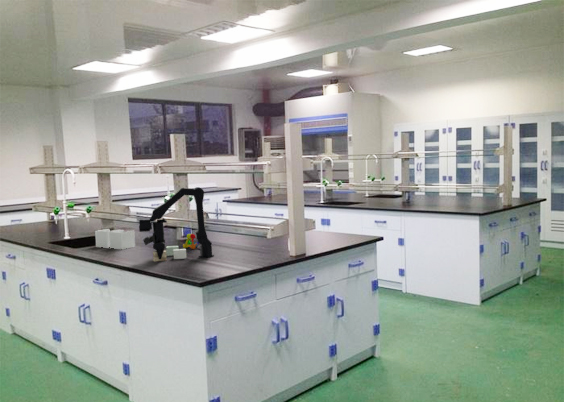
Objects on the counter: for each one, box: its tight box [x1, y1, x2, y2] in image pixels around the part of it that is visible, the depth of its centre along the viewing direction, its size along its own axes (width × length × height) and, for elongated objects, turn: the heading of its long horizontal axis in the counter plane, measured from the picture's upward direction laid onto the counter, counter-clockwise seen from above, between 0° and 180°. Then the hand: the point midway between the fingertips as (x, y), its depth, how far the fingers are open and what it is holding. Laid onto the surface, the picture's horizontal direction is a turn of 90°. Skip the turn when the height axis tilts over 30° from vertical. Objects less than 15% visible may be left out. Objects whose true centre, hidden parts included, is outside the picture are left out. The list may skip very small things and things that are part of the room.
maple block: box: [152, 249, 168, 262], centre depth 277 cm, size 7×4×5 cm, turn 103°
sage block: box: [165, 245, 179, 257], centre depth 292 cm, size 7×4×5 cm, turn 103°
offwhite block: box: [173, 248, 187, 260], centre depth 281 cm, size 7×4×5 cm, turn 103°
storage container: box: [94, 228, 136, 250], centre depth 326 cm, size 25×11×11 cm, turn 59°
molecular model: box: [182, 233, 200, 250], centre depth 313 cm, size 11×10×15 cm
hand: (160, 258), depth 277 cm, fingers closed on maple block, 4 cm apart
